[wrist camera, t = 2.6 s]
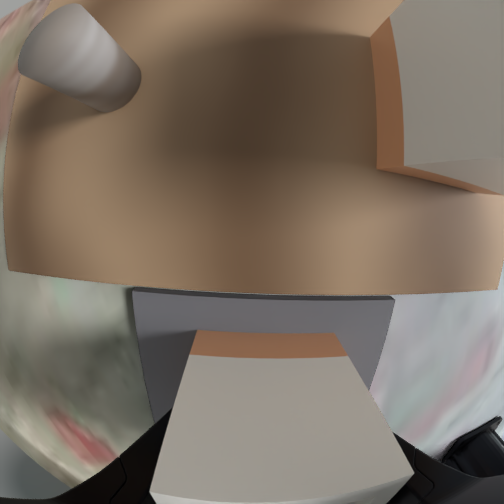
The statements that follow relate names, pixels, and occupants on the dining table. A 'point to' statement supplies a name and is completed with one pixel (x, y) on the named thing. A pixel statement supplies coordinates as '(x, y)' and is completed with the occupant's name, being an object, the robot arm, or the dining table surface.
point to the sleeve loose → (275, 426)
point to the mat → (248, 328)
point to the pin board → (225, 156)
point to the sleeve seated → (442, 92)
